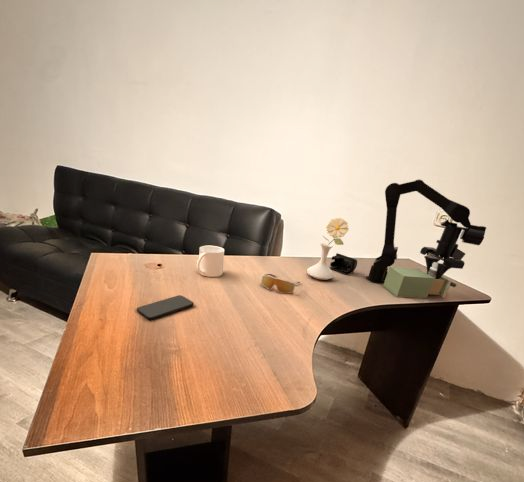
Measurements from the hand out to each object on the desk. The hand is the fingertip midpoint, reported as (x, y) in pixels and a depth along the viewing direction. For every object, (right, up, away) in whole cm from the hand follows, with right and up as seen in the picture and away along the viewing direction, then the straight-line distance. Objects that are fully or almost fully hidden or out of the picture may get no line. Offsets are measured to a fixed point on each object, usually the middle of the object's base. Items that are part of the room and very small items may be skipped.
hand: (432, 277), depth 124 cm
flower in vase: (-45, 0, +4) cm, 45 cm away
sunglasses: (-63, -5, -10) cm, 64 cm away
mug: (-91, 0, -9) cm, 91 cm away
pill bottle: (0, -2, +1) cm, 3 cm away
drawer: (0, -5, +3) cm, 6 cm away
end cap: (-33, +5, +16) cm, 37 cm away
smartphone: (-97, -14, -37) cm, 105 cm away
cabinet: (-11, -6, +1) cm, 13 cm away
